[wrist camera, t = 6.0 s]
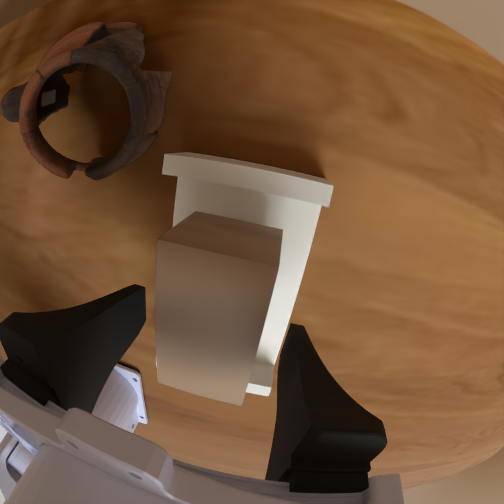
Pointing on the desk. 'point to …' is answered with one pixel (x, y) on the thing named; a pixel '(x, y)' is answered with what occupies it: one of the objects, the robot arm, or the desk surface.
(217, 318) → the tan rectangular block
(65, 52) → the pottery mug
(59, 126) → the desk surface
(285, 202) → the peg stand
